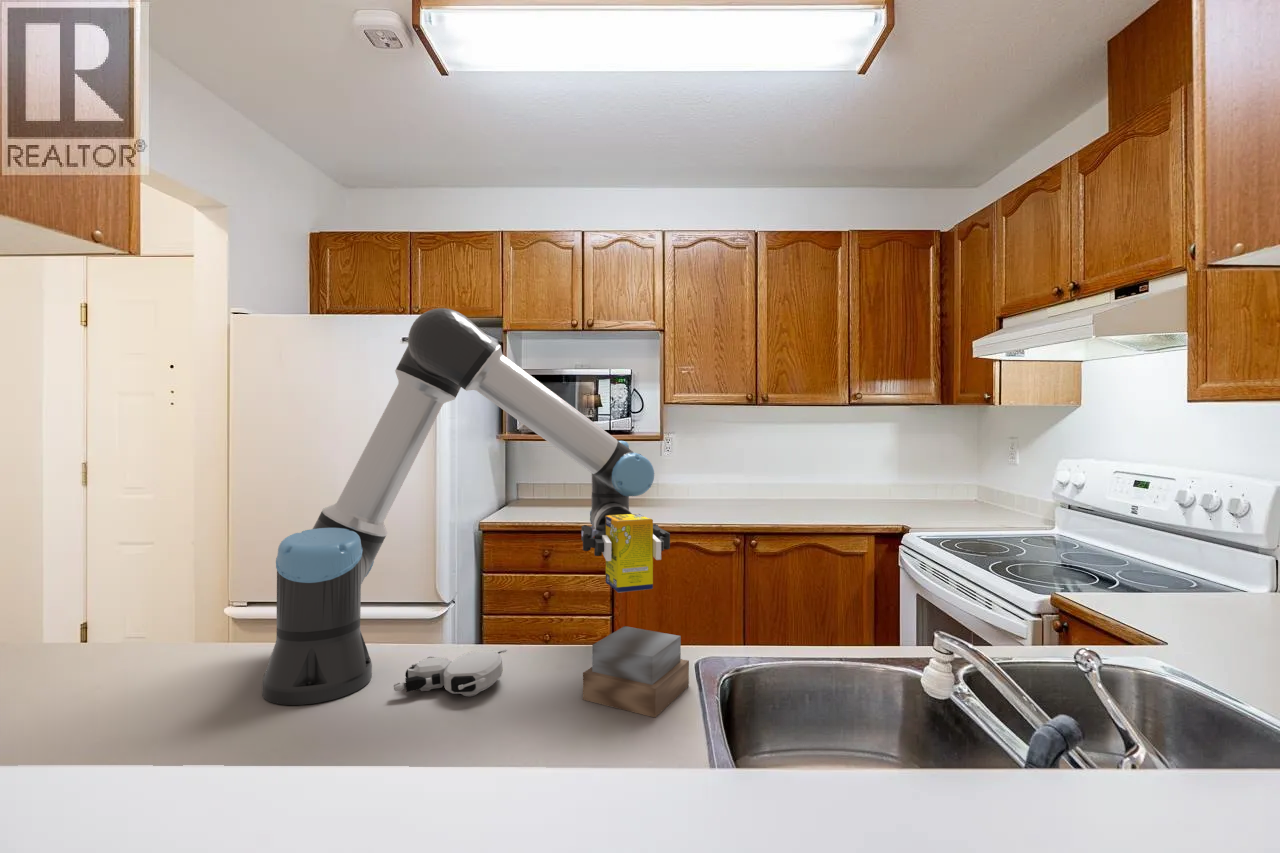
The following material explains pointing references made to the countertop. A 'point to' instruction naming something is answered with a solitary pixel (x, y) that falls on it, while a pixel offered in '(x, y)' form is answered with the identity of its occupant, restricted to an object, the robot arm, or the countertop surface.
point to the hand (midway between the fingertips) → (633, 551)
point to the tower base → (636, 691)
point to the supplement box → (630, 552)
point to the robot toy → (455, 673)
